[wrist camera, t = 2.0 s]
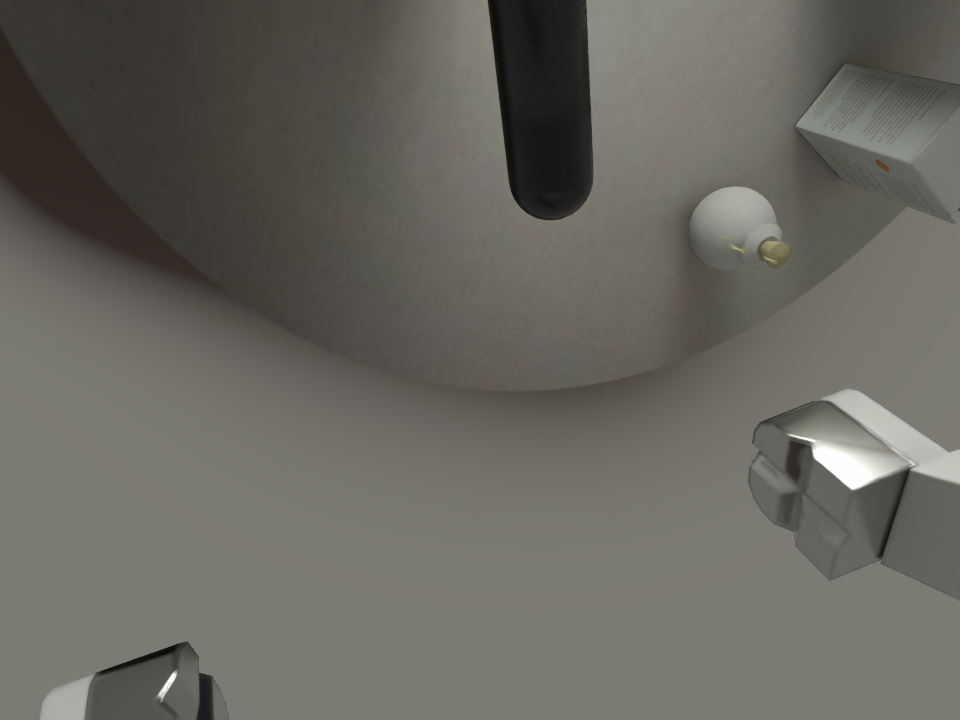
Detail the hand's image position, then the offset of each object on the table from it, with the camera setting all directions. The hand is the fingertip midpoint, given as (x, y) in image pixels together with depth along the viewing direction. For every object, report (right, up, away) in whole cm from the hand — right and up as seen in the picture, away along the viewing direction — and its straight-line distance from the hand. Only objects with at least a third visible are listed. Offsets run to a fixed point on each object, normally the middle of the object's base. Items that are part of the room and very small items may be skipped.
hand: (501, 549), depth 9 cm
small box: (+27, +21, +43) cm, 55 cm away
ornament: (+16, +14, +42) cm, 48 cm away
